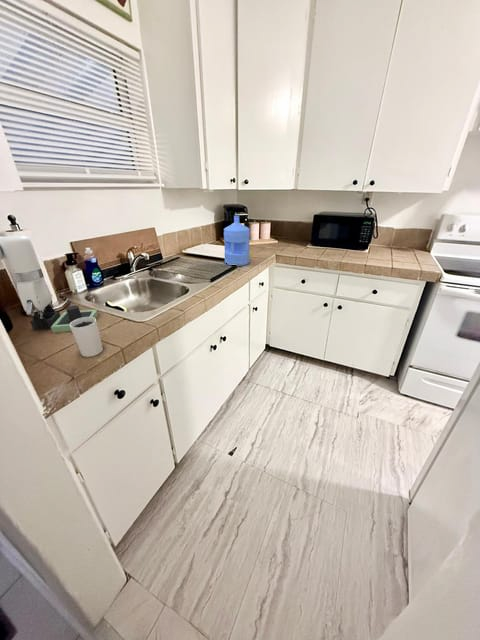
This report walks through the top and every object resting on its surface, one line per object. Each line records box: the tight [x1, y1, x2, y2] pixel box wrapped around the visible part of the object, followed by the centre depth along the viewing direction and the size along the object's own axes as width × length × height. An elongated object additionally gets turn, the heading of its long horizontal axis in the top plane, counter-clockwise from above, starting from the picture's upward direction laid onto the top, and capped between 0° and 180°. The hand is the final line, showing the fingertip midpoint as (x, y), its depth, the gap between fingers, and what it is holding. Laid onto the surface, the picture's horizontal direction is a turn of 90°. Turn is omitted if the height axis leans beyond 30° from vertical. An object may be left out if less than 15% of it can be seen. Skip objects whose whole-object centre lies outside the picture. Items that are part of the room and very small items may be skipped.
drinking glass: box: [70, 317, 104, 358], centre depth 76 cm, size 7×7×10 cm
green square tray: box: [50, 309, 99, 333], centre depth 94 cm, size 12×12×2 cm
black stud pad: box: [58, 304, 92, 325], centre depth 93 cm, size 8×8×5 cm
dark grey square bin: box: [29, 311, 61, 331], centre depth 92 cm, size 7×7×4 cm
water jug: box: [223, 215, 251, 267], centre depth 158 cm, size 16×16×28 cm
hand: (47, 323), depth 93 cm, fingers closed on dark grey square bin, 6 cm apart
